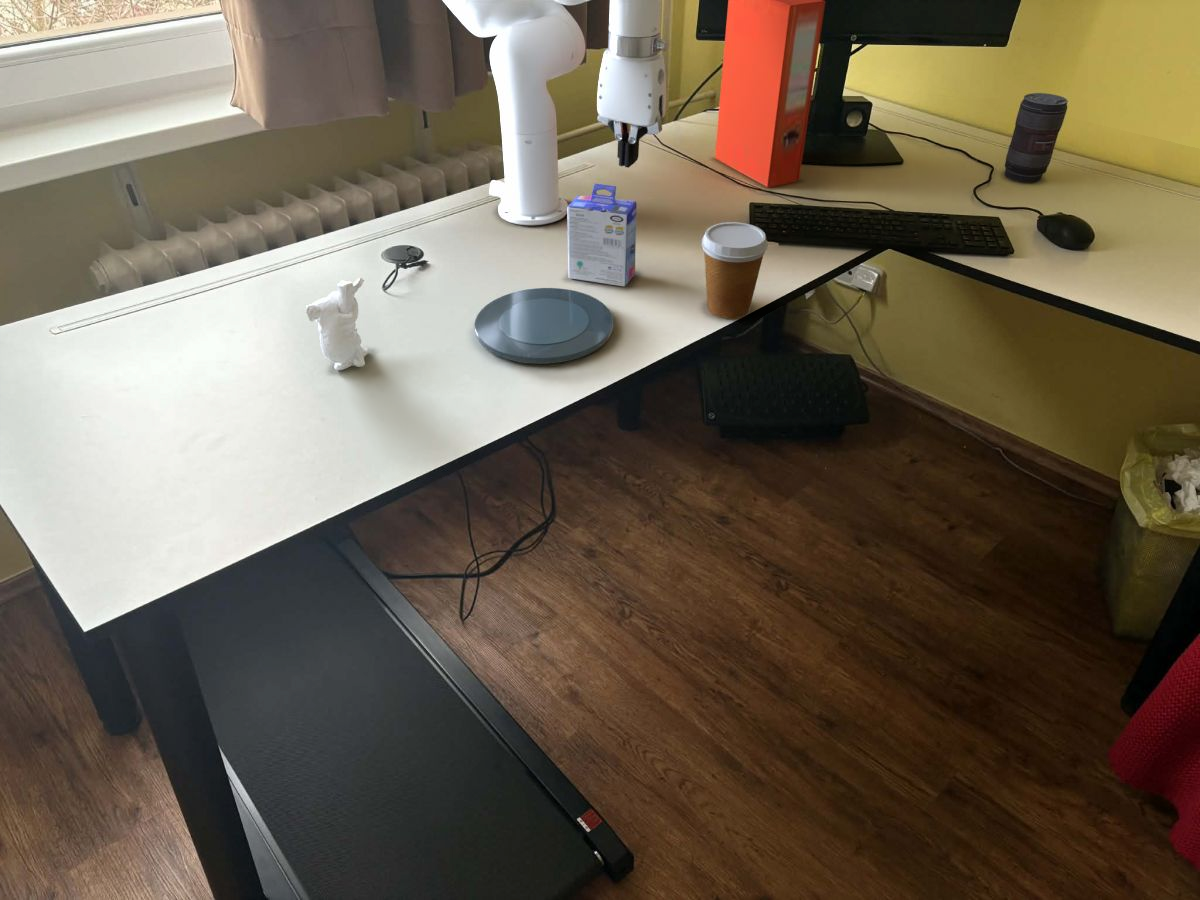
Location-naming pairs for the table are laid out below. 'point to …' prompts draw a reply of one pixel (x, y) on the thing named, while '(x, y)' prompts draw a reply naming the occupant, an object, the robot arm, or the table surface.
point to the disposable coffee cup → (732, 267)
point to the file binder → (767, 86)
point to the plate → (543, 325)
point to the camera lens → (1034, 136)
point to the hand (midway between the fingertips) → (627, 163)
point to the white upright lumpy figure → (339, 326)
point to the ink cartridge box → (602, 238)
